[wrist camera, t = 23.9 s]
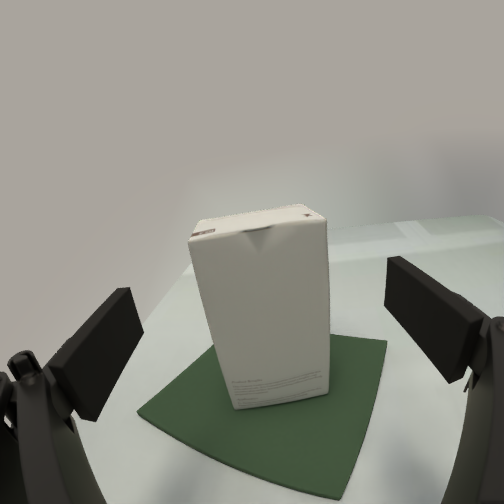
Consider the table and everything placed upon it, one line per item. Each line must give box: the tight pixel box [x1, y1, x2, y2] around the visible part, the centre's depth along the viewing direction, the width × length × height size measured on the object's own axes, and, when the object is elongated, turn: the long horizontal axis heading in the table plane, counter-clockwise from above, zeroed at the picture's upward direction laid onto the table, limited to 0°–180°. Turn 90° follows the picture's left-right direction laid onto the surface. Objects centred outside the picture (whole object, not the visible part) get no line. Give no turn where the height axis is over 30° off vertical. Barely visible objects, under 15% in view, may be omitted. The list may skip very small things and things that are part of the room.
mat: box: [137, 334, 387, 500], centre depth 22 cm, size 18×18×1 cm
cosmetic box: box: [188, 204, 330, 410], centre depth 20 cm, size 8×6×15 cm
